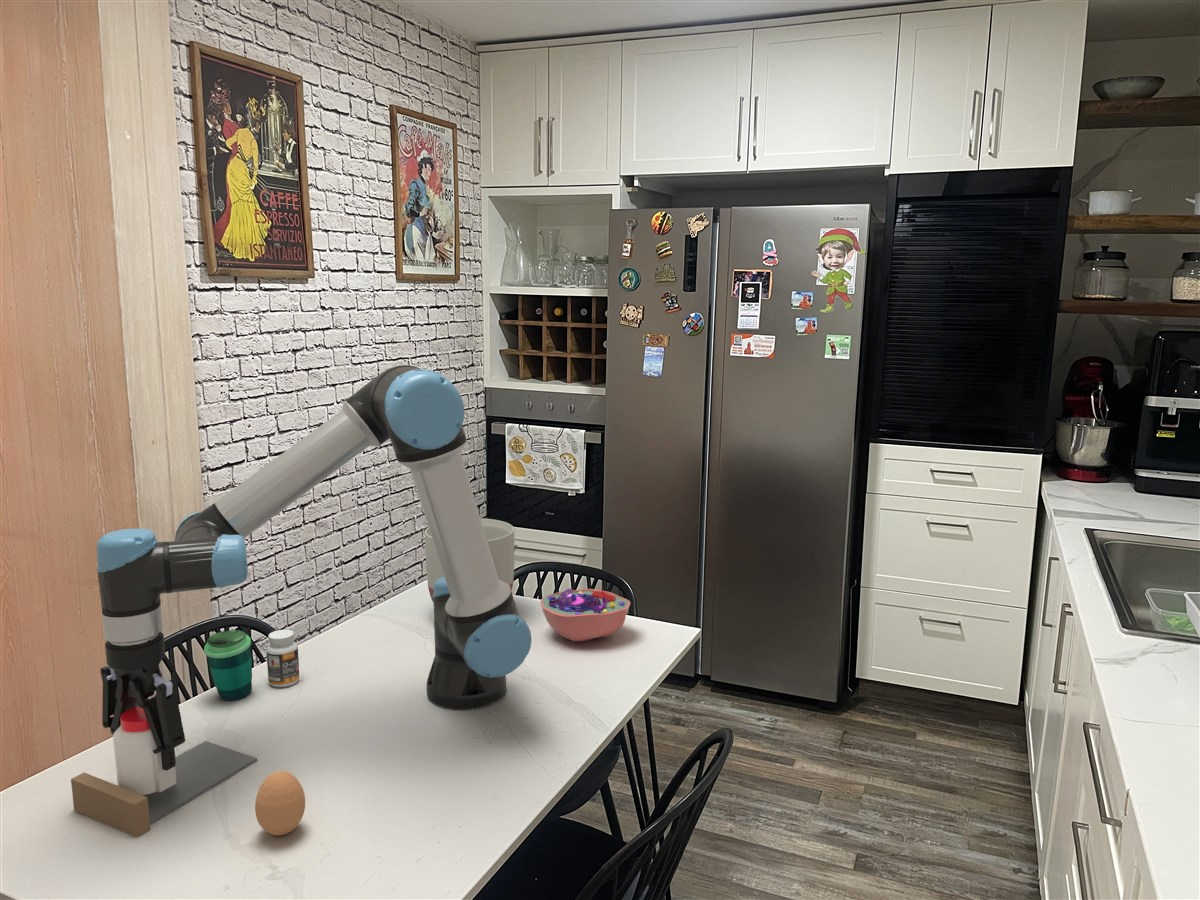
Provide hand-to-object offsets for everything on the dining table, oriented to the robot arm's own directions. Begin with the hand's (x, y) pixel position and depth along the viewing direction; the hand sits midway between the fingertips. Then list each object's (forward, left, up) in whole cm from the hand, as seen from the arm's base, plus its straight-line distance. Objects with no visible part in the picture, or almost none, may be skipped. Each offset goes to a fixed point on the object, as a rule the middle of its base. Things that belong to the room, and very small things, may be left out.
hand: (147, 779), depth 129 cm
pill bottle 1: (0, 0, 0) cm, 0 cm away
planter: (-1, -83, -3) cm, 83 cm away
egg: (-24, -3, -3) cm, 24 cm away
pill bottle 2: (+12, -38, -3) cm, 40 cm away
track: (0, -5, -3) cm, 6 cm away
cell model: (-30, -85, -3) cm, 90 cm away
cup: (+16, -29, -3) cm, 33 cm away
